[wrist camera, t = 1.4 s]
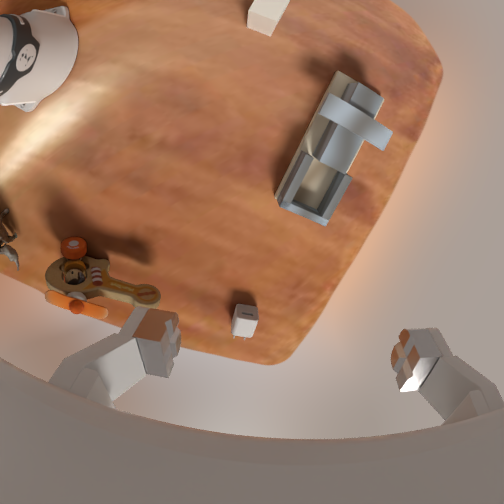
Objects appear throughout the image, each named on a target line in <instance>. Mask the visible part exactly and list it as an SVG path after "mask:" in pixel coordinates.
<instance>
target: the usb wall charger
mask: <svg viewBox="0 0 504 504" xmlns="http://www.w3.org/2000/svg"><path fill="white" fill-rule="evenodd" d="M258 320H259V316H258V308H257V307H256V306H250V305H244V304H237V305H236V308H235V312H234V315H233V319H232V323H231V333H232V334H233V335H234V336H233V338H234V337H235V335H236V336H242V337H244V340H245V337H252V336H253V333H254V331H255V328H256V325H257V322H258Z"/></svg>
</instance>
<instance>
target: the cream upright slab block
mask: <svg viewBox="0 0 504 504" xmlns="http://www.w3.org/2000/svg"><path fill="white" fill-rule="evenodd" d="M289 2H290V0H254V2H253V3H252V5H251V7H250V9H249V10H248V20H247V28H250V29H252V30H255V31H258V32H260V33H263V34H265V35H268V36H270V37H271V35H272V33H273V31H274V29H275V27H276V25H277V24H278V22H279V20H280V18H281V16H282V15H283V13H284V11H285V9H286V7H287V5H288V4H289Z"/></svg>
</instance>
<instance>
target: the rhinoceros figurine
mask: <svg viewBox="0 0 504 504" xmlns="http://www.w3.org/2000/svg"><path fill="white" fill-rule="evenodd" d="M6 213H9V209H5V210H4V211H3V212H2V213H1V214H0V254H5V255H6V256H8V258H9V259H10V261H15V262H16V265H17V268H18V270H19V262H18V254H17V252H16V250H15V249H13V248H12V247H11V246H9V245H6V243H9V242H12V241H13V240H14V239H15V238H17V235H16V233H15V235H13V236H8V232H7V231H6V229H5V227H4V226H3V224H2V217H3V216H4V215H5V214H6ZM4 242H5V244H4V246H2V247H1V245H2V244H3V243H4Z"/></svg>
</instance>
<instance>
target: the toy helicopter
mask: <svg viewBox="0 0 504 504" xmlns="http://www.w3.org/2000/svg"><path fill="white" fill-rule="evenodd" d="M86 252H87V244H86V242H85V240H84V239H82V238H80V237H69V238H67V239H65V240H63V242H62V243H61V253H62V255H63V256H64V257H63V258H60V259H58V260H56V261H55V262H53V263H52V264H51V265H50V266H49V267H48V269H47V271H46V274H45V278H46V283H47V286H48V288H49V289H50V290H48V291H47V292H46V293H45V299H46V301H47V302H49V303H51V304H53V305H56V306H58V307H61V308H64V309H68V310H70V311H71V312H72V313H74V314H80V313H81V314H84V315H87V316H91V317H94V318H98V319H103V318H105V317H106V316H107V315H108V310H107V309H106V308H105V307H103V306H99V305H96V304H93V303H89V302H87V299H90V298H94V297H97V296H102V297H106V298H110V299H114V300H119V301H123V302H127V303H130V304H132V305H133V306H134V307H135V308H136V307H138V306H141V307H146V308H153V309H156V308H157V307H158V306H159V303H160V298H161V294H160V292H159V290H158V289H157V288H156V287H154V286H152V285H148V284H140V285H134V284H130V283H127V282H124V281H121V280H118V279H115V278H112V277H110V276H109V273H108V272H109V267H110V262H109V261H108V260H106V259H94V258H91V257H88V256H84V255H85V254H86ZM63 272H64V274H63Z"/></svg>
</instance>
